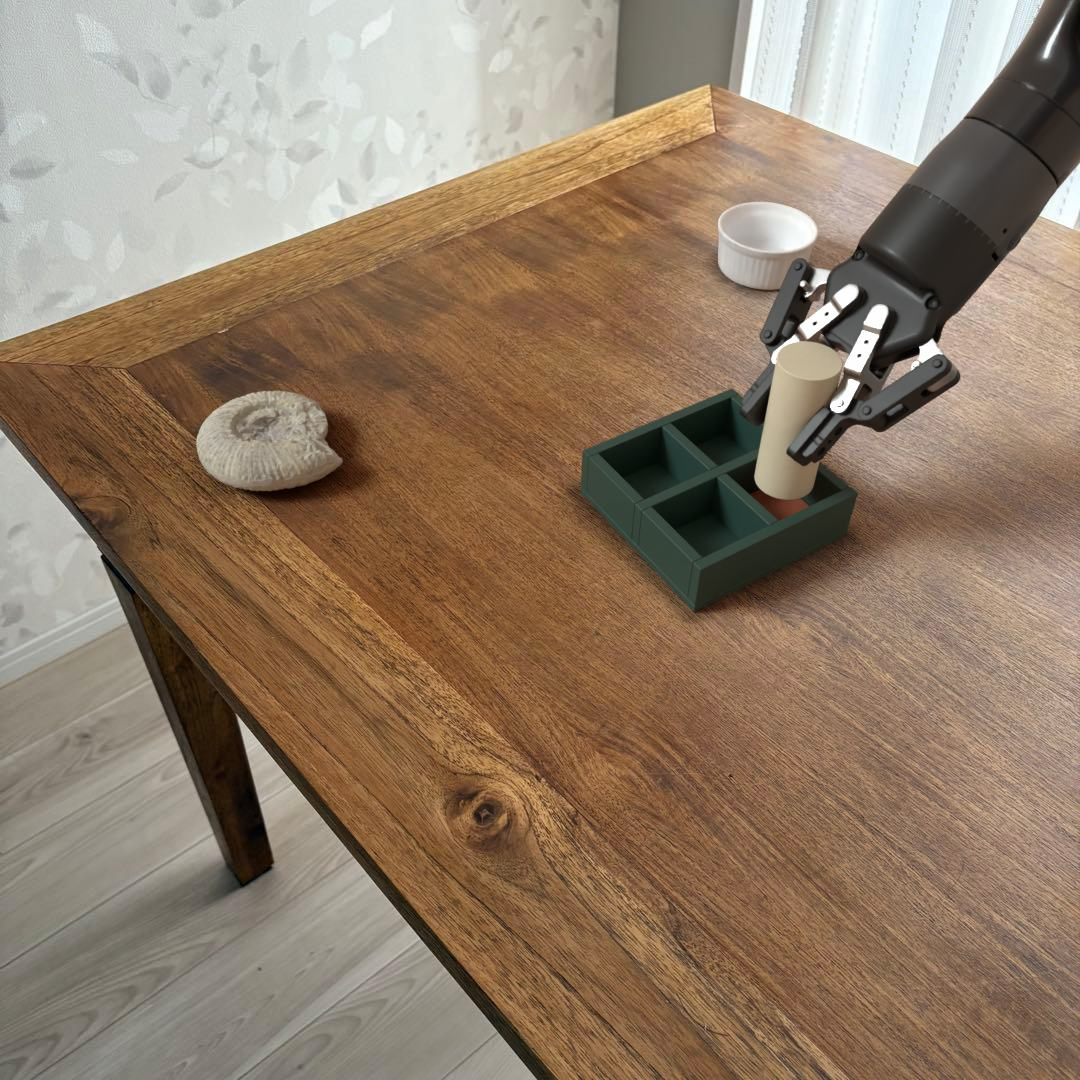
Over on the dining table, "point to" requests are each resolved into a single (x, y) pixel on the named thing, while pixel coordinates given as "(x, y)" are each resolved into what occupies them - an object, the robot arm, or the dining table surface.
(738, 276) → the ramekin
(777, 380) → the cylinder
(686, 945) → the dining table surface
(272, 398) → the fossil
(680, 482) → the grid
